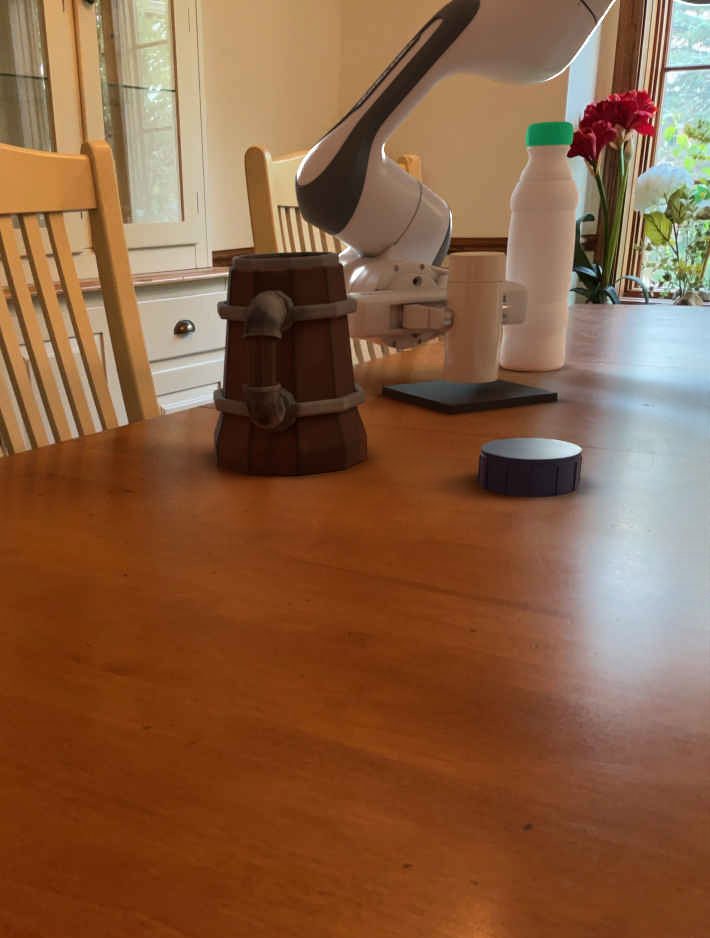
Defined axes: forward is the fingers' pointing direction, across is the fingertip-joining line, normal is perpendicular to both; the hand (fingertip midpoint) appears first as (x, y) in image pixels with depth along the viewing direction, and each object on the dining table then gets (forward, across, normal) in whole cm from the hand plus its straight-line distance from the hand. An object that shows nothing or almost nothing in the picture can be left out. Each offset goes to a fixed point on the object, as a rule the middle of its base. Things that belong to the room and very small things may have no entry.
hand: (476, 316), depth 98 cm
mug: (+14, -27, +8) cm, 32 cm away
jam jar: (0, 0, +6) cm, 6 cm away
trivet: (-1, 0, +8) cm, 8 cm away
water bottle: (-13, +17, +8) cm, 23 cm away
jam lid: (+28, -15, +5) cm, 32 cm away
